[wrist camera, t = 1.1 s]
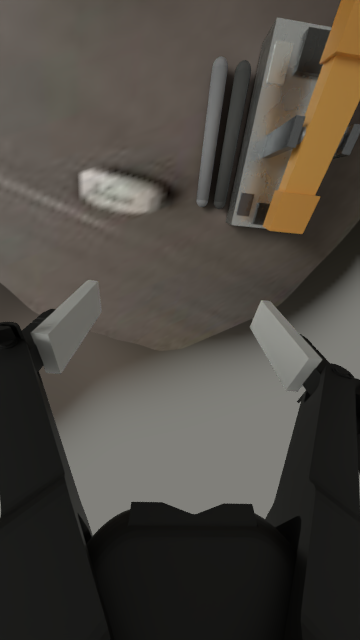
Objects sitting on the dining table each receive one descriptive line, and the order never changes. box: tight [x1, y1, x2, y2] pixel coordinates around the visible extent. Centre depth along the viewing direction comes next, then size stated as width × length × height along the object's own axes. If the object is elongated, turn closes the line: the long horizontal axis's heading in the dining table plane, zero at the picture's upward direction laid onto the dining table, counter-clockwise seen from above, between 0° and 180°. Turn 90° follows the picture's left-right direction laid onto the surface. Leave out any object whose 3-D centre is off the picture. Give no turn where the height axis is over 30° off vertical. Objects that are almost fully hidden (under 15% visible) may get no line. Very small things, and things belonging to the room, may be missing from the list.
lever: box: [263, 0, 360, 234], centre depth 21 cm, size 19×5×3 cm, turn 175°
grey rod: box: [197, 57, 228, 207], centre depth 28 cm, size 16×2×2 cm, turn 175°
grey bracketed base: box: [226, 18, 360, 229], centre depth 24 cm, size 20×12×11 cm, turn 175°
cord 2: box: [214, 60, 251, 209], centre depth 28 cm, size 16×2×2 cm, turn 175°
